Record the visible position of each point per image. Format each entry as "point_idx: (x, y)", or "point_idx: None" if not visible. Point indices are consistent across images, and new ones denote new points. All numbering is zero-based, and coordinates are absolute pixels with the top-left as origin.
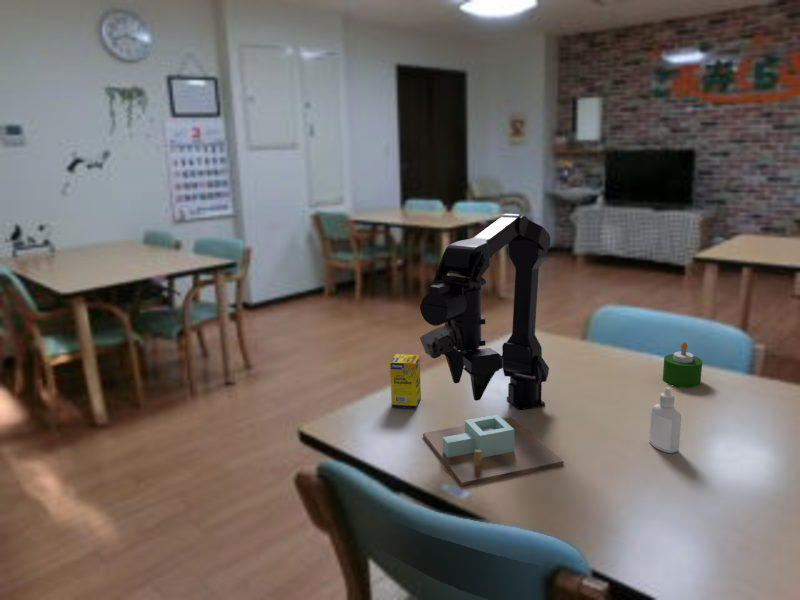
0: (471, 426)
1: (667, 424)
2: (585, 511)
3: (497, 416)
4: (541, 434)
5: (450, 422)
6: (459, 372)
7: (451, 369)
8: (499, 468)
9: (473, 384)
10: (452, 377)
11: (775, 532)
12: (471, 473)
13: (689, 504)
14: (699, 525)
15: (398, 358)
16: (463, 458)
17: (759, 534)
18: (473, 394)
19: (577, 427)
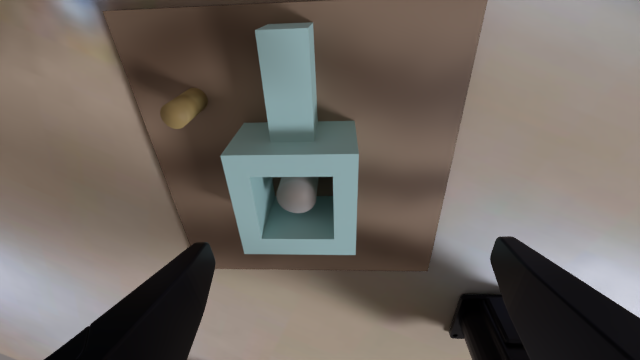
0: (300, 156)
1: None
2: (35, 222)
3: (341, 249)
4: (335, 280)
5: (517, 129)
6: (527, 324)
7: (580, 316)
8: (180, 147)
9: (76, 340)
10: (536, 259)
11: (28, 356)
12: (156, 63)
13: (79, 330)
14: (27, 316)
15: None
16: (251, 75)
17: (20, 346)
18: (179, 265)
19: (336, 332)
